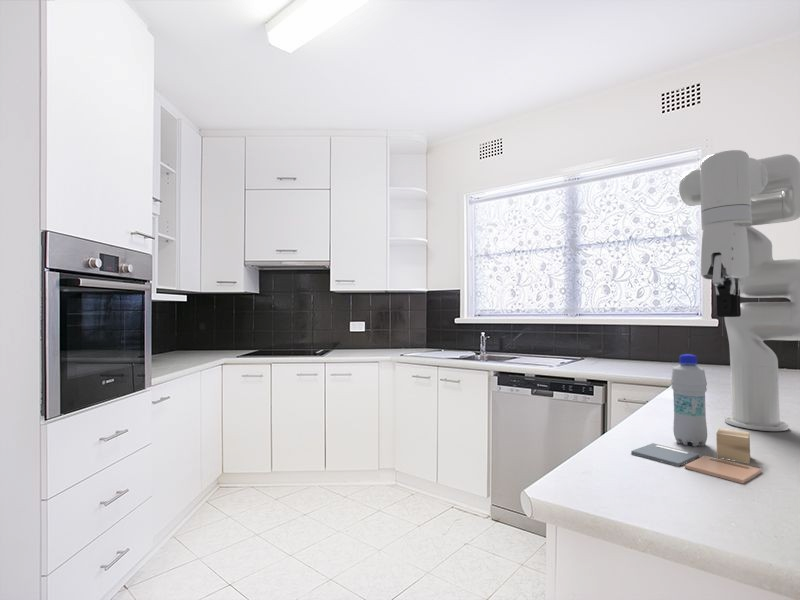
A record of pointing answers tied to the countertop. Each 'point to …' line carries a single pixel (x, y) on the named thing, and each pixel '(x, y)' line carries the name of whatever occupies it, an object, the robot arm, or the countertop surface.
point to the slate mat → (665, 454)
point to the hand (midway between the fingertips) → (728, 316)
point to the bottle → (689, 401)
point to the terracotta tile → (724, 469)
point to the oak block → (733, 445)
